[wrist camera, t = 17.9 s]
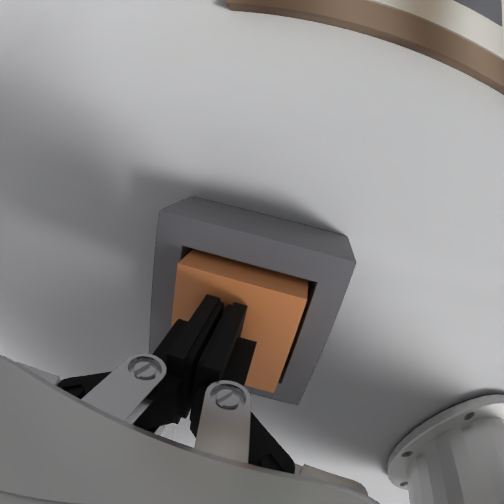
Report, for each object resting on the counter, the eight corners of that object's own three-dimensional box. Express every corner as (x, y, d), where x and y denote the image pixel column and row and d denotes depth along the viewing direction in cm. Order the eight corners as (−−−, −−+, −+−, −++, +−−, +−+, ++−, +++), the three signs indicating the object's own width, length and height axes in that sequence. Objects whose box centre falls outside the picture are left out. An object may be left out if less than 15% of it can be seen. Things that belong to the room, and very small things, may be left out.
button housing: (347, 236, 15) (356, 262, 12) (302, 363, 18) (297, 405, 14) (190, 196, 16) (159, 210, 12) (174, 325, 18) (149, 359, 15)
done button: (309, 270, 14) (307, 299, 11) (281, 356, 16) (273, 392, 13) (202, 241, 14) (177, 263, 12) (189, 329, 16) (168, 360, 14)
